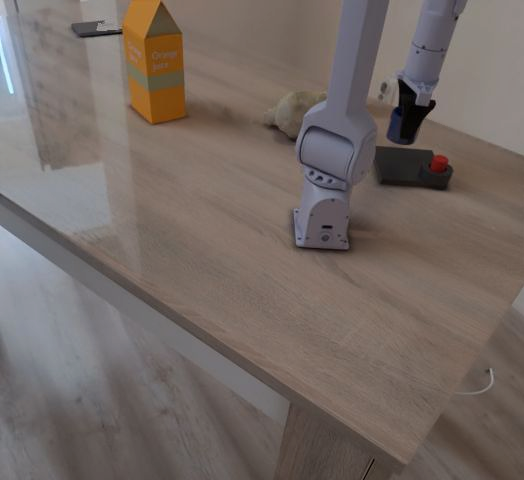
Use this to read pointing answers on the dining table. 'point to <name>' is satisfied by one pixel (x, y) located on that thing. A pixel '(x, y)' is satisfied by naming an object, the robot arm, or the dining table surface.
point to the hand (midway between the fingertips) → (403, 130)
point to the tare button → (439, 163)
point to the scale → (409, 168)
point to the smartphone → (90, 28)
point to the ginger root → (293, 110)
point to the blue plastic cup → (398, 128)
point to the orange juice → (154, 61)
